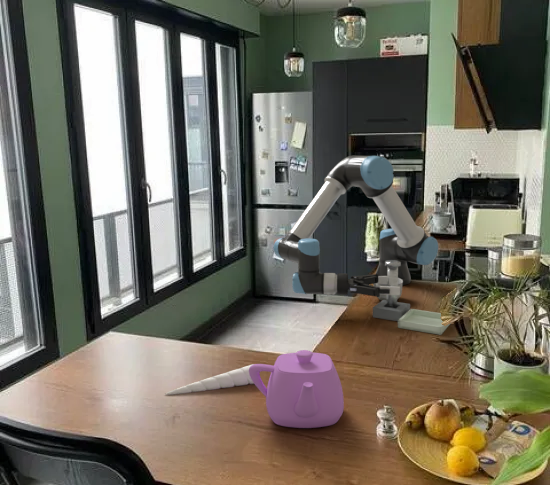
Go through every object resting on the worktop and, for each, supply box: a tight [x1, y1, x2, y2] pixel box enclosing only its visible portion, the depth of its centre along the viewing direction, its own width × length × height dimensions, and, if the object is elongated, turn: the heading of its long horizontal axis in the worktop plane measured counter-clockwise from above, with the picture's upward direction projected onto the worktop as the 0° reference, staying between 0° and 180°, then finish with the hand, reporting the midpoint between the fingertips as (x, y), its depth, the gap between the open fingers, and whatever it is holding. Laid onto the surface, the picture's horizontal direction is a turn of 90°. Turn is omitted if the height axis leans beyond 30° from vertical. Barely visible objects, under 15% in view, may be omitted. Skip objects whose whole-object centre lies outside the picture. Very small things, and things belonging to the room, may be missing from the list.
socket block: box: [372, 300, 411, 322], centre depth 190 cm, size 10×10×4 cm
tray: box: [397, 308, 452, 336], centre depth 180 cm, size 14×14×2 cm
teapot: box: [249, 349, 345, 429], centre depth 118 cm, size 23×21×15 cm
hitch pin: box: [385, 260, 401, 308], centre depth 188 cm, size 5×5×19 cm
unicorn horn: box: [164, 364, 255, 396], centre depth 137 cm, size 5×24×5 cm, turn 105°
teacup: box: [372, 278, 403, 301], centre depth 208 cm, size 14×11×8 cm
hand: (398, 285), depth 188 cm, fingers open, 13 cm apart
